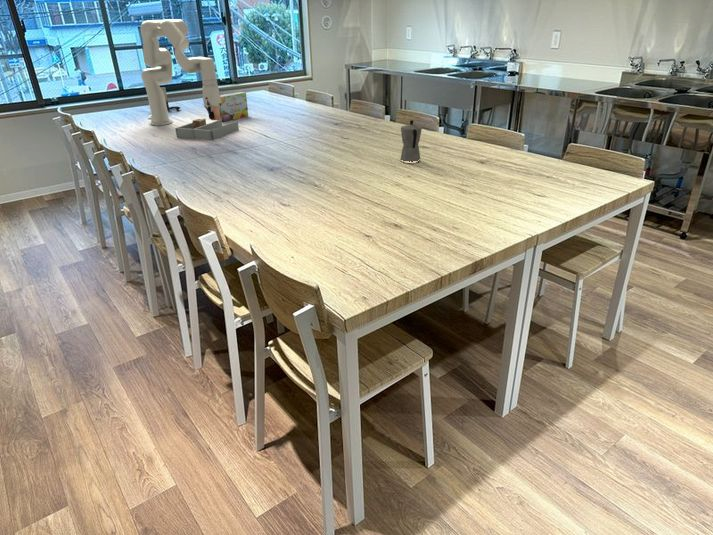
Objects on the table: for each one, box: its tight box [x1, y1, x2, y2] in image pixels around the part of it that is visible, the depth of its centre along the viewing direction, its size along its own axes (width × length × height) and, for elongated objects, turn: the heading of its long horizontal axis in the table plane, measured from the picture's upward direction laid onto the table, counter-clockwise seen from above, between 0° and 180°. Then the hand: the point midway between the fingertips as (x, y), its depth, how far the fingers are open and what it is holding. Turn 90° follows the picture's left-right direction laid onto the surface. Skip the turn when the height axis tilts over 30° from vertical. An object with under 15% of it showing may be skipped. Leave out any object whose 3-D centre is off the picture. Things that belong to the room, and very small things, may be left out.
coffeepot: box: [399, 119, 423, 162], centre depth 215 cm, size 15×9×18 cm, turn 6°
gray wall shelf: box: [175, 118, 240, 141], centre depth 274 cm, size 23×26×5 cm
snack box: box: [220, 91, 249, 123], centre depth 306 cm, size 21×6×15 cm, turn 143°
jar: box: [210, 104, 221, 121], centre depth 268 cm, size 6×6×8 cm
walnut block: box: [192, 118, 207, 129], centre depth 276 cm, size 5×5×7 cm
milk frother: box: [159, 86, 181, 112], centre depth 334 cm, size 14×16×15 cm
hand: (215, 117), depth 269 cm, fingers closed on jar, 5 cm apart
